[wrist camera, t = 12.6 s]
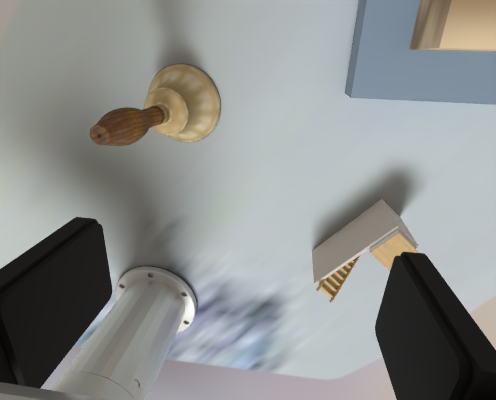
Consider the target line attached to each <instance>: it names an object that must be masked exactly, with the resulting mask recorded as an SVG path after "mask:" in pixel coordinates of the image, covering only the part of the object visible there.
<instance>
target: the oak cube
mask: <svg viewBox="0 0 496 400" xmlns="http://www.w3.org/2000/svg"><path fill="white" fill-rule="evenodd" d="M409 50H433V51H471V52H496V0H420V5H419V9H418V13H417V18H416V22H415V27H414V31H413V36H412V40H411V45H410V49H409Z"/></svg>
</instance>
